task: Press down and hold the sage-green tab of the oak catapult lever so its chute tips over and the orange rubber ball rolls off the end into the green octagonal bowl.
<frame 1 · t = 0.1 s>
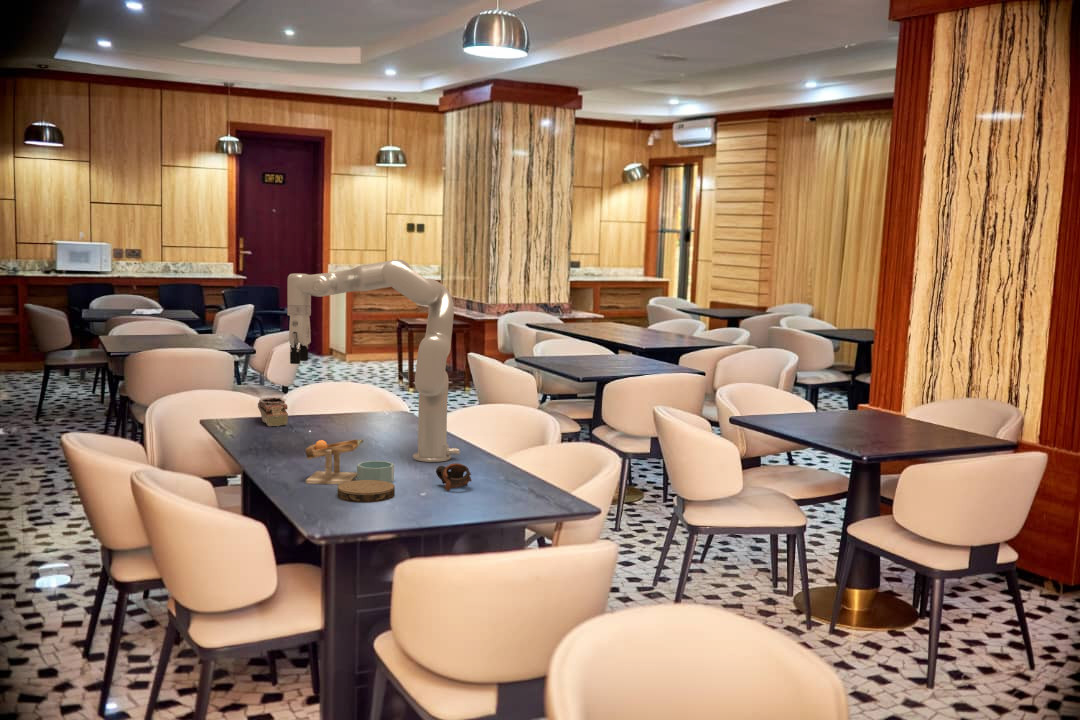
hand: (299, 362, 334), 31 cm above the table, fingers open, 9 cm apart
ball: (321, 446, 301), point 10 cm above the table, tilted 17°, touching lever
lever: (335, 445, 304), point 10 cm above the table, hinge at 12.0°, touching ball
decorative box: (268, 423, 395), on the table
green octagonal bowl: (375, 480, 301), on the table
pottery mug: (453, 488, 296), on the table
wood log slice: (366, 497, 283), on the table
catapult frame: (332, 479, 302), on the table
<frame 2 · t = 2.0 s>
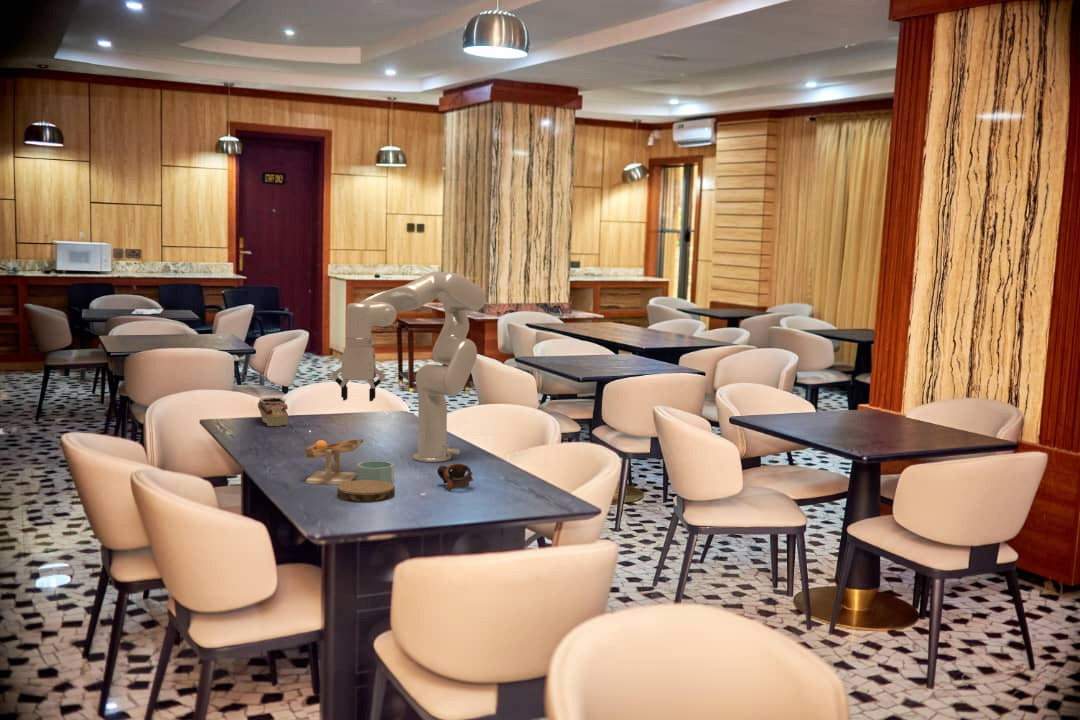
hand: (358, 400, 309), 23 cm above the table, fingers open, 7 cm apart
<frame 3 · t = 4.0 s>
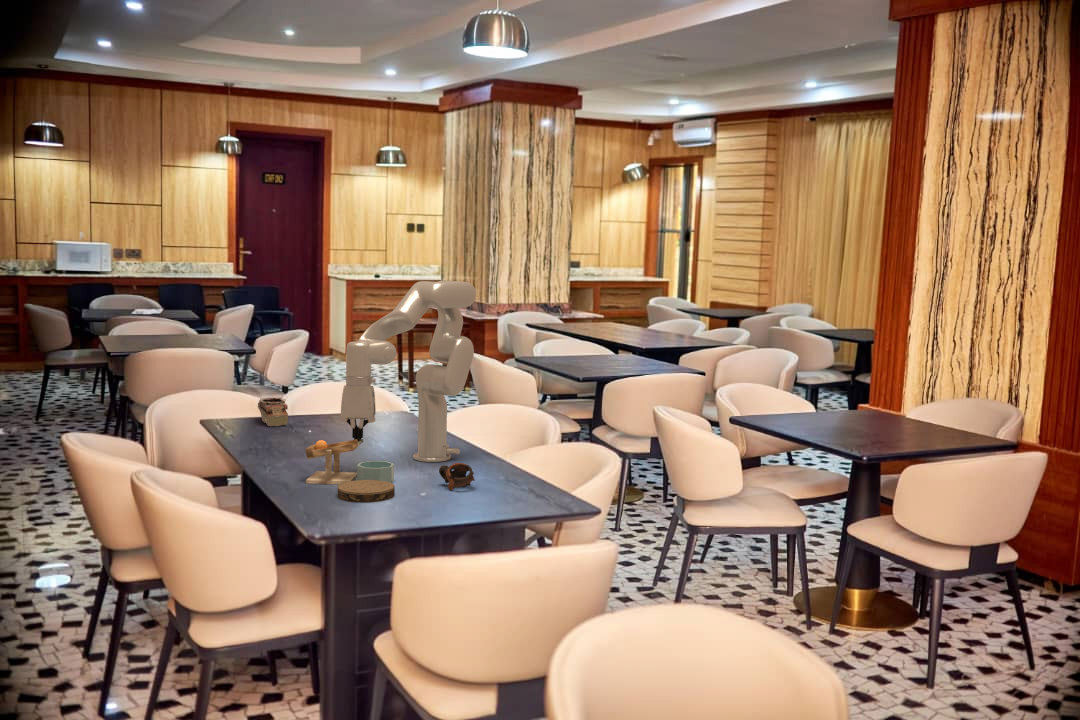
hand: (357, 440, 310), 10 cm above the table, fingers closed
lever: (335, 445, 304), point 10 cm above the table, hinge at 11.9°, touching ball, gripper
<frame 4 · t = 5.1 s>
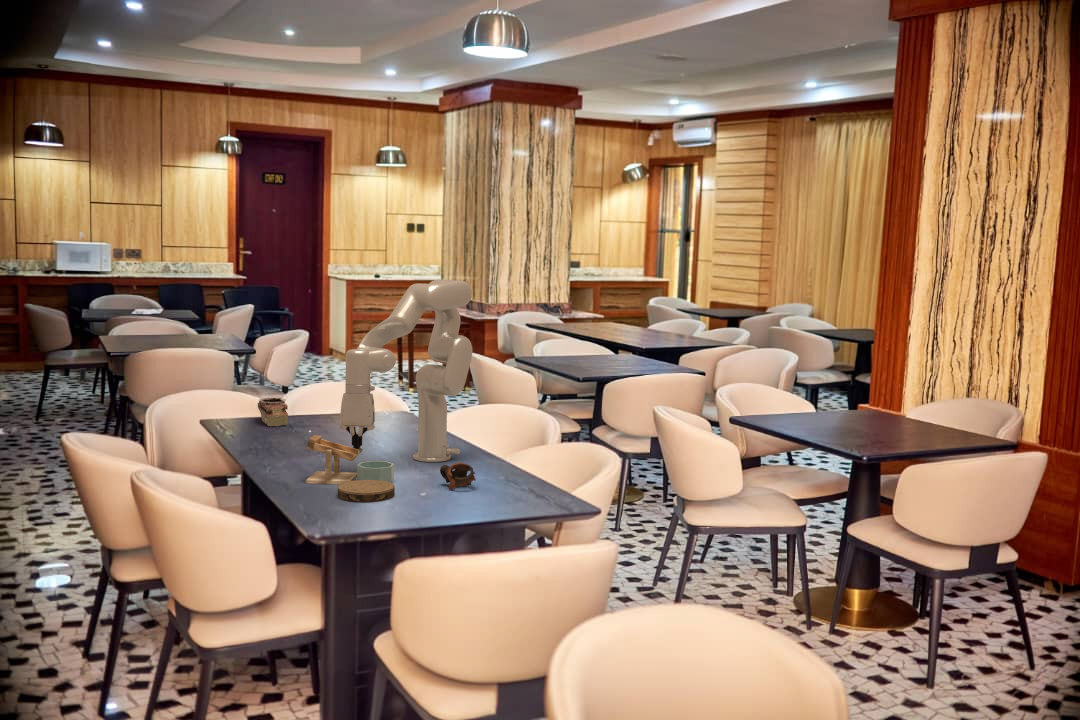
hand: (356, 448, 311), 8 cm above the table, fingers closed
ball: (384, 473, 301), point 2 cm above the table, tilted 89°, touching green octagonal bowl
lever: (336, 445, 304), point 10 cm above the table, hinge at -14.4°, touching gripper
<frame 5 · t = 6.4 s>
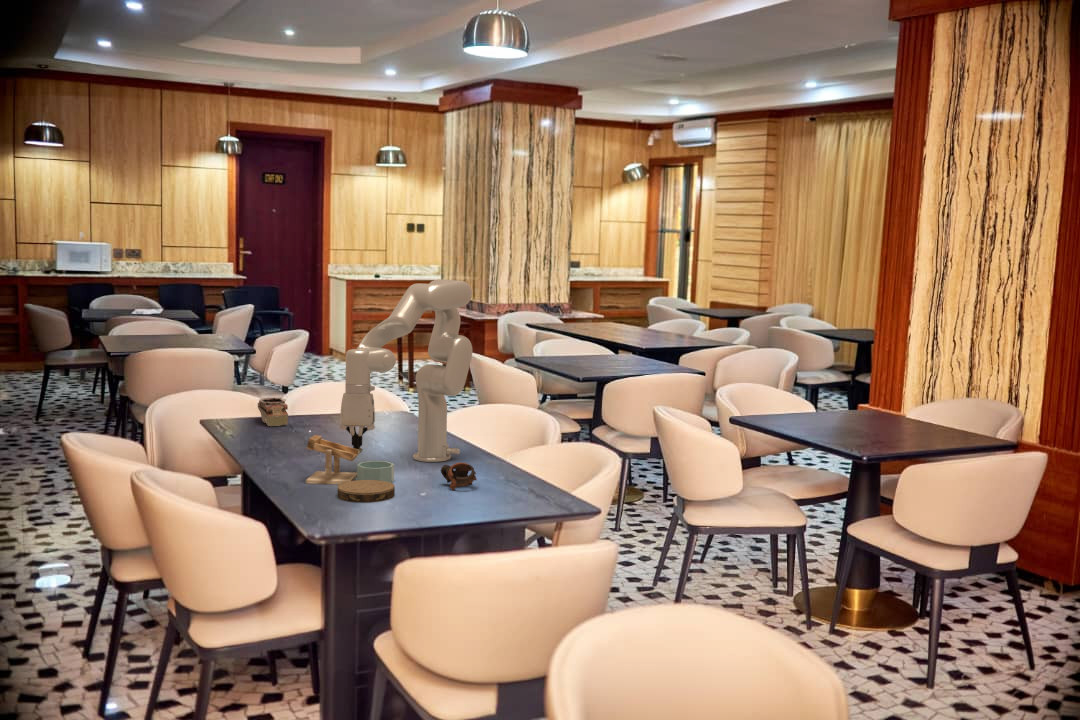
hand: (356, 447, 311), 8 cm above the table, fingers closed
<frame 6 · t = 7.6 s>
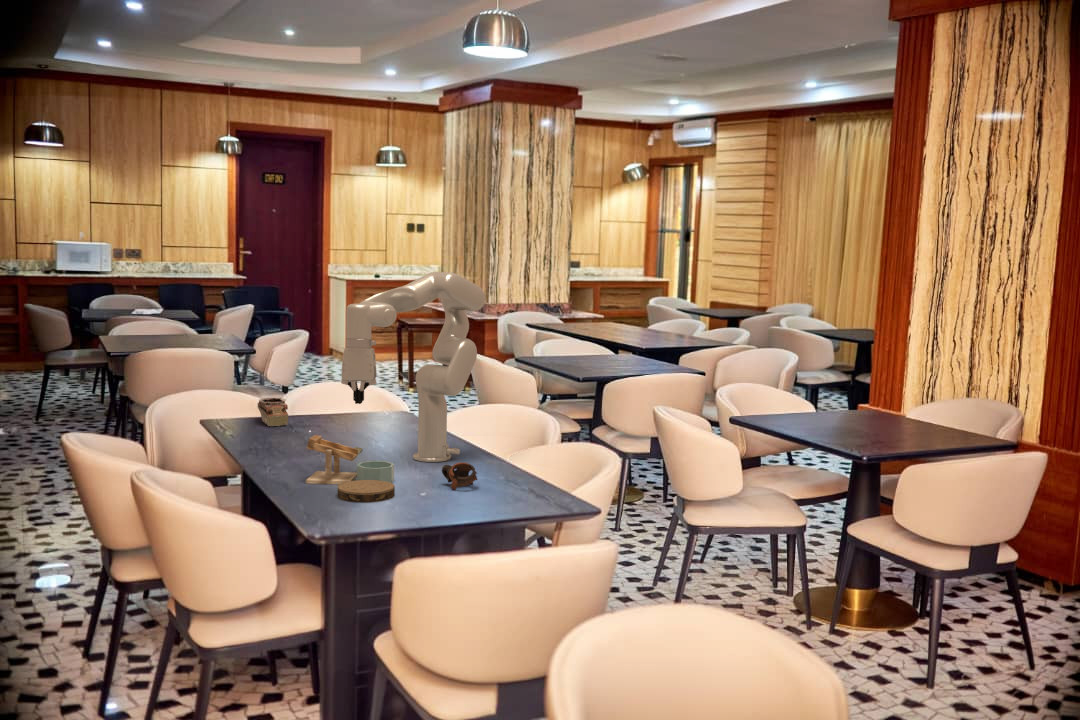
hand: (358, 403, 309), 22 cm above the table, fingers closed
ball: (383, 473, 301), point 2 cm above the table, tilted 99°, touching green octagonal bowl
lever: (336, 445, 304), point 10 cm above the table, hinge at -14.4°
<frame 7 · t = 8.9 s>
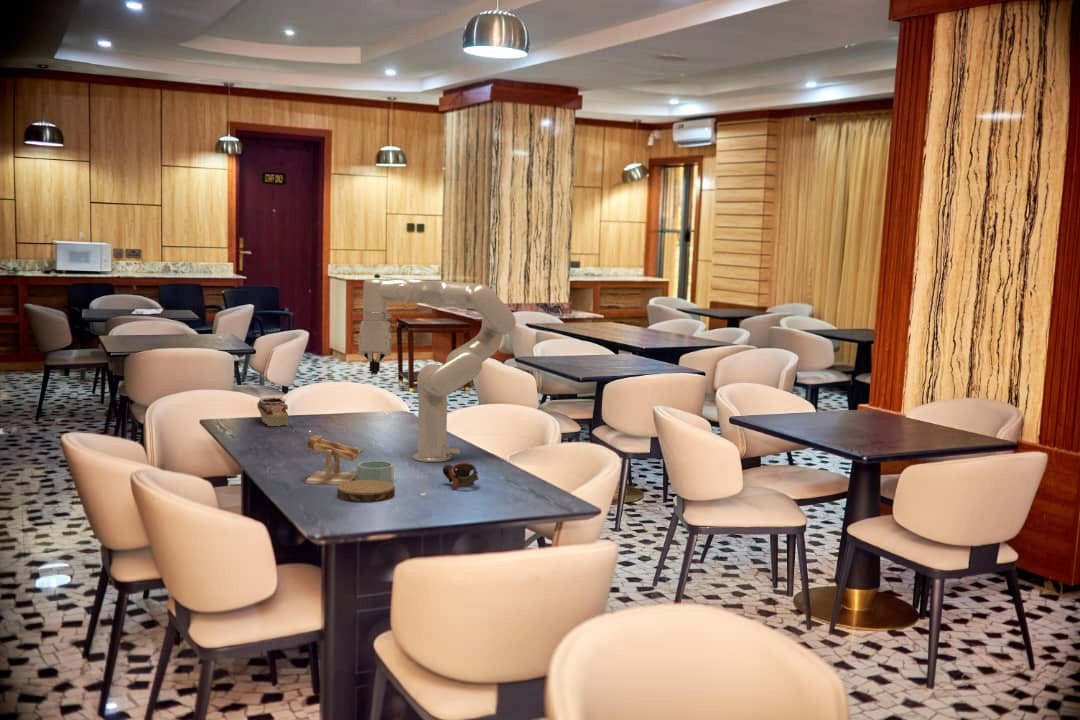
hand: (374, 373, 325), 29 cm above the table, fingers closed
ball: (383, 473, 301), point 2 cm above the table, tilted 105°, touching green octagonal bowl
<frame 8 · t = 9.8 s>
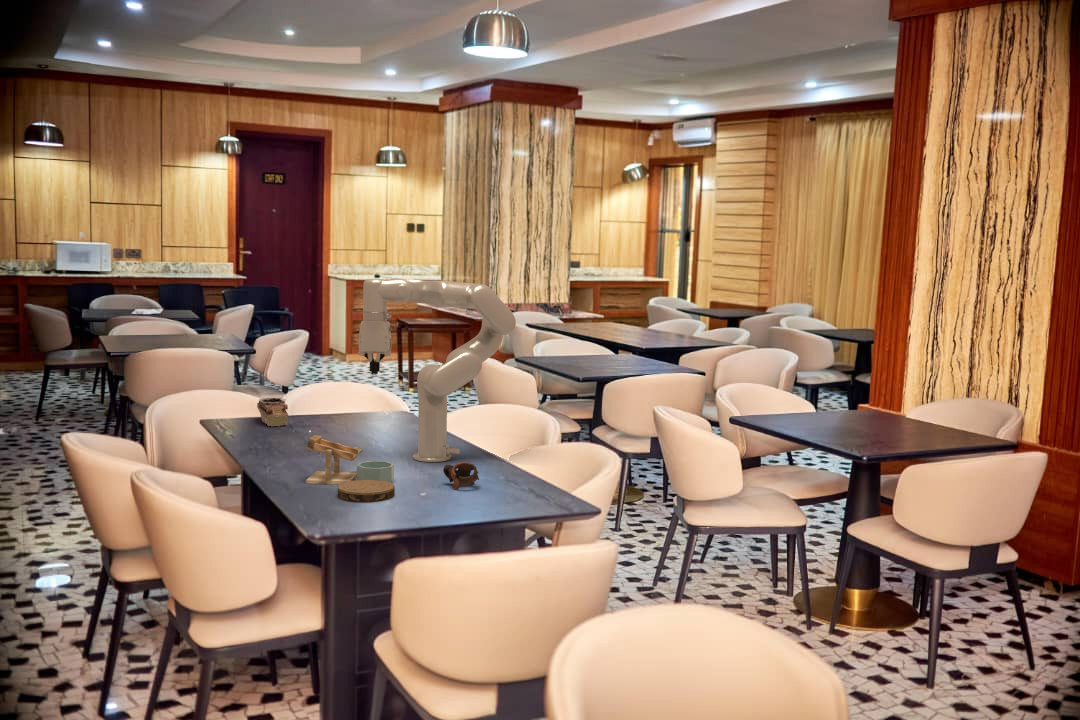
hand: (374, 373, 325), 29 cm above the table, fingers closed
at the end: ball inside the target area on the green octagonal bowl (2.2 cm from its centre), point 2.4 cm above the green octagonal bowl's base; ball moved 19.8 cm from its start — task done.
